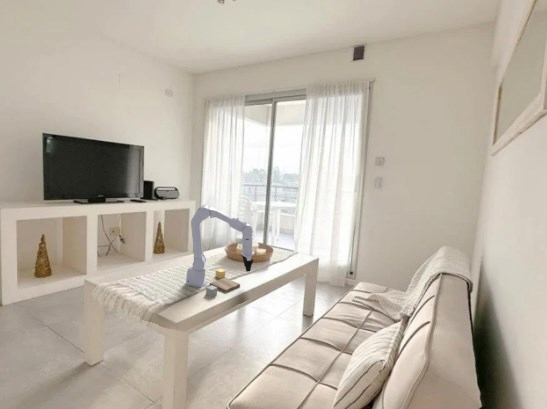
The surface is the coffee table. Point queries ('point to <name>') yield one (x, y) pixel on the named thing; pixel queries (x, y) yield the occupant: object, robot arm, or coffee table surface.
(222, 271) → the mustard block
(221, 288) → the walnut base
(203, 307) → the coffee table surface
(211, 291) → the grey block
